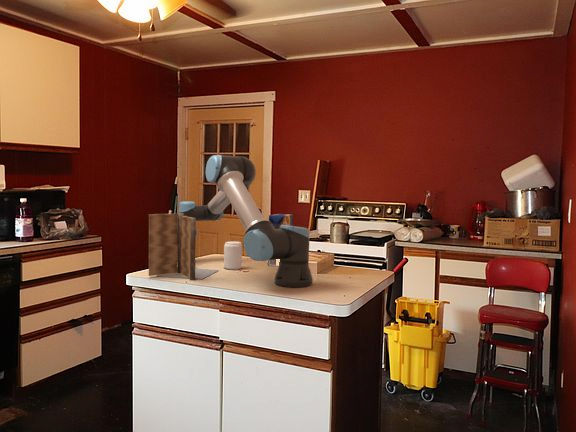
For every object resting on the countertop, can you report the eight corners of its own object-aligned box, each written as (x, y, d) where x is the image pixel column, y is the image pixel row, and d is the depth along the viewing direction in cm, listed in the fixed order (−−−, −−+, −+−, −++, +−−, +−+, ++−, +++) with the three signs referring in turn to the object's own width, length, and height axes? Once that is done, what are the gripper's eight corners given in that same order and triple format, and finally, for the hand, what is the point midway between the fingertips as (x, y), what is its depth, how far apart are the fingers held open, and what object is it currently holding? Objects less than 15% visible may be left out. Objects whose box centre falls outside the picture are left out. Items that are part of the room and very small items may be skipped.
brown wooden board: (175, 272, 221) (176, 213, 219) (177, 272, 220) (177, 213, 218) (148, 275, 213) (148, 214, 211) (149, 275, 211) (150, 214, 210)
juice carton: (282, 267, 244) (283, 216, 242) (267, 265, 247) (268, 215, 245) (291, 263, 255) (292, 214, 254) (277, 261, 258) (278, 213, 256)
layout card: (218, 270, 230) (218, 269, 230) (202, 279, 211) (202, 278, 211) (176, 268, 234) (176, 267, 234) (156, 276, 215) (156, 275, 215)
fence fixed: (176, 273, 222) (176, 212, 220) (181, 273, 223) (182, 212, 221) (190, 280, 209) (191, 215, 207) (196, 279, 210) (197, 215, 208)
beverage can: (220, 268, 238) (220, 242, 237) (234, 266, 243) (235, 240, 242) (230, 270, 232) (231, 244, 231) (245, 268, 237) (245, 242, 236)
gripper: (192, 245, 237) (170, 252, 214) (164, 244, 240) (140, 251, 217) (192, 229, 237) (170, 234, 214) (165, 227, 239) (140, 233, 216)
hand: (155, 242), depth 215 cm, fingers closed
